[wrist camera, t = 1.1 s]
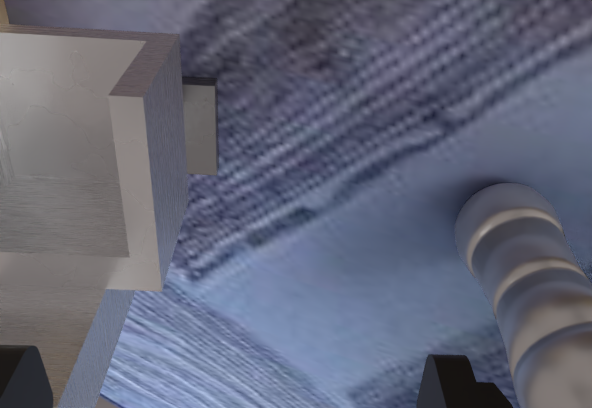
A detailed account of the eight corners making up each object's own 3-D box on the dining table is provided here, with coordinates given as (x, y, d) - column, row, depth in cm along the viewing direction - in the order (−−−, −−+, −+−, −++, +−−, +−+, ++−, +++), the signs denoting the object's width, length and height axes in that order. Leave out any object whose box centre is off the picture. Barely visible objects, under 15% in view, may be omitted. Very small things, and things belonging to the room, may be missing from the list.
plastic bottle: (431, 237, 40) (525, 525, 24) (475, 158, 37) (623, 431, 20) (511, 258, 41) (656, 548, 25) (562, 183, 38) (771, 463, 21)
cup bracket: (65, -37, 30) (-295, 170, 12) (214, -28, 30) (89, 189, 12) (96, 159, 37) (-105, 487, 18) (218, 165, 37) (141, 495, 19)
